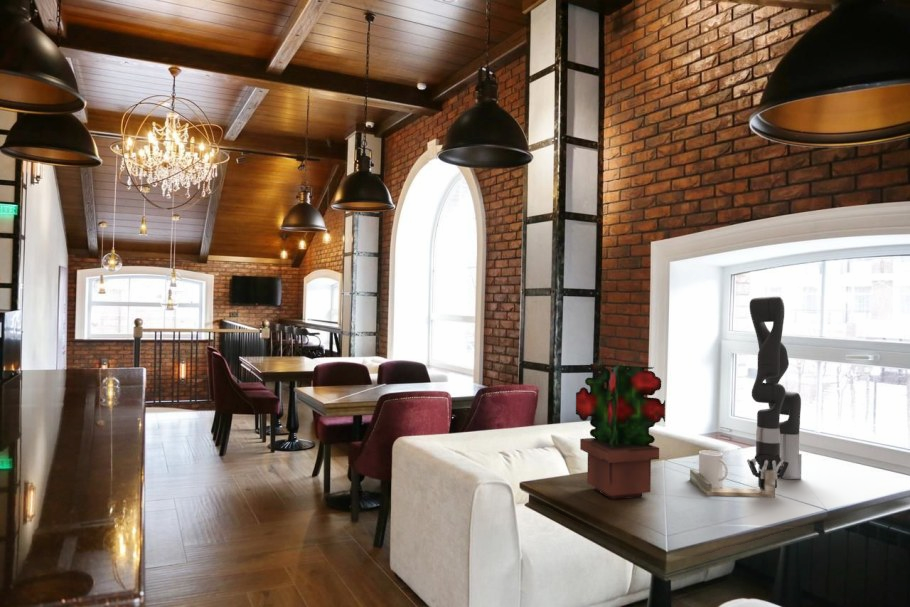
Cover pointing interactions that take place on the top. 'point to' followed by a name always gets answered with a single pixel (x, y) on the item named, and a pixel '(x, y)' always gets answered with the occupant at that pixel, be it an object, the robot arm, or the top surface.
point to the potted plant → (620, 428)
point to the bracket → (708, 490)
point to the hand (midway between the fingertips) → (767, 488)
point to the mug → (712, 467)
